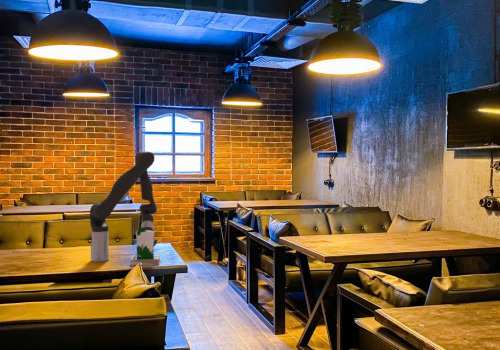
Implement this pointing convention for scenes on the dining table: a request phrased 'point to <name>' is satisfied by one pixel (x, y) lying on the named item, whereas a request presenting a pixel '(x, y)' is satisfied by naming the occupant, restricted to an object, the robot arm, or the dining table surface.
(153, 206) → the robot arm
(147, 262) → the stop tray
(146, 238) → the soya milk
